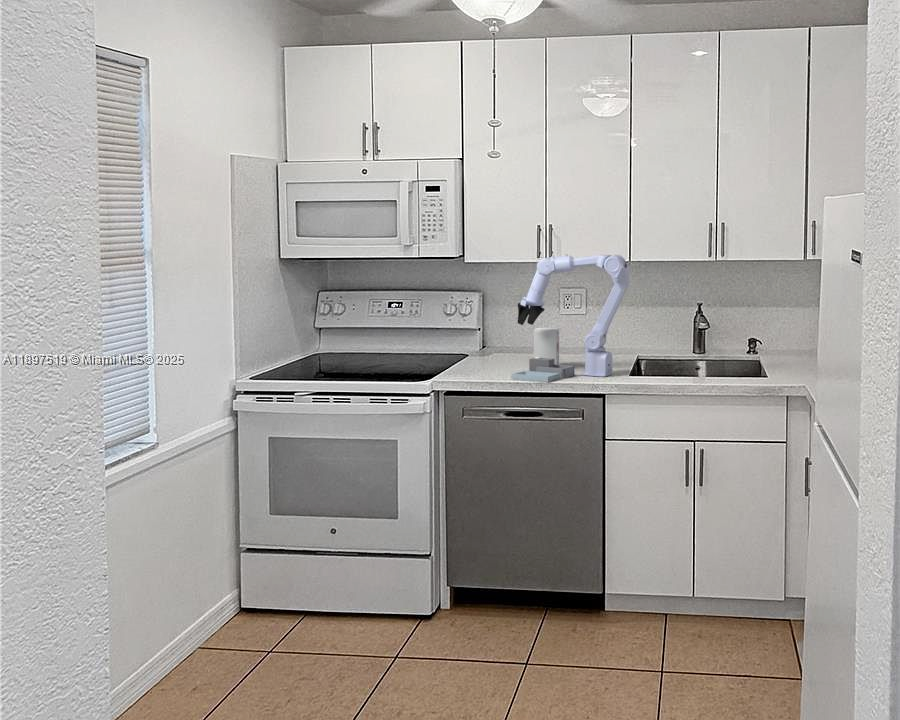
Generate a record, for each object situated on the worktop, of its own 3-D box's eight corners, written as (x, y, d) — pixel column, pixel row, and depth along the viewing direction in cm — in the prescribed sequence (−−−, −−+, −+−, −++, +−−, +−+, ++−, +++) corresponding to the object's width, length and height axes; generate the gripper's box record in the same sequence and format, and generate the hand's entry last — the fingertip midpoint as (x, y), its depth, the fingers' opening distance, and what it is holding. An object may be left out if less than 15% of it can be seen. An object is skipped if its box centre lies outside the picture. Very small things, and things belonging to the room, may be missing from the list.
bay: (574, 375, 418) (574, 365, 417) (563, 378, 411) (563, 368, 410) (547, 373, 423) (547, 363, 423) (536, 376, 416) (536, 366, 416)
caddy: (554, 375, 420) (554, 357, 419) (548, 376, 416) (548, 358, 415) (535, 373, 424) (535, 355, 423) (529, 375, 420) (529, 357, 419)
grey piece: (557, 369, 433) (557, 330, 431) (533, 369, 434) (533, 329, 432) (559, 366, 441) (559, 327, 439) (536, 366, 443) (536, 327, 441)
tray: (559, 379, 409) (559, 373, 409) (547, 382, 402) (547, 376, 402) (523, 376, 417) (523, 370, 417) (511, 379, 410) (511, 373, 409)
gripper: (537, 286, 429) (525, 319, 432) (519, 285, 417) (506, 319, 420) (553, 293, 426) (540, 326, 429) (535, 292, 413) (522, 327, 417)
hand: (524, 323), depth 424 cm, fingers open, 7 cm apart
